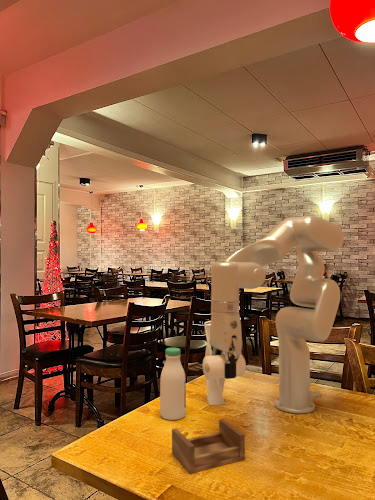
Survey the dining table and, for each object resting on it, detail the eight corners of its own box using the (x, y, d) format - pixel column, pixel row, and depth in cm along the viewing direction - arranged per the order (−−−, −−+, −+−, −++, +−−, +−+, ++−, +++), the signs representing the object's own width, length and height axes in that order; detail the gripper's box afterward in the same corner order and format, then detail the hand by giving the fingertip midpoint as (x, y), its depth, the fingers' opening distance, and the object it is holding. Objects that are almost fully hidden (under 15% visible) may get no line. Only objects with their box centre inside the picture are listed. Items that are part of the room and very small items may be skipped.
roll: (234, 372, 110) (235, 351, 111) (246, 378, 105) (246, 355, 105) (201, 376, 106) (201, 354, 106) (211, 382, 101) (212, 358, 101)
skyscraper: (229, 406, 125) (229, 318, 126) (207, 407, 124) (206, 319, 125) (223, 397, 133) (223, 315, 134) (202, 398, 132) (202, 315, 133)
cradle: (223, 441, 101) (223, 418, 101) (244, 459, 92) (244, 434, 92) (171, 453, 95) (171, 429, 95) (189, 473, 86) (189, 447, 86)
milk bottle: (182, 421, 113) (182, 352, 114) (157, 419, 115) (157, 351, 115) (188, 411, 121) (188, 346, 121) (163, 409, 122) (163, 345, 123)
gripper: (254, 311, 100) (253, 382, 99) (221, 304, 115) (220, 365, 115) (229, 312, 97) (227, 385, 96) (198, 304, 112) (197, 368, 112)
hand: (224, 374), depth 105 cm, fingers closed on roll, 6 cm apart
